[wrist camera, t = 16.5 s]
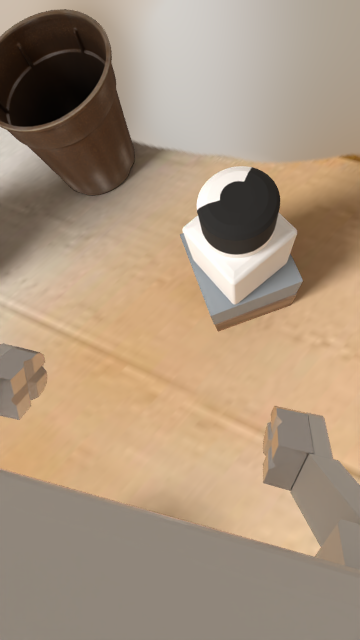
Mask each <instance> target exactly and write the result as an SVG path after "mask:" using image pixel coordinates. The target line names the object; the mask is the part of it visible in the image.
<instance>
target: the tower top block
mask: <svg viewBox="0 0 360 640" xmlns="http://www.w3.org/2000/svg"><path fill="white" fill-rule="evenodd" d="M180 236H181V239H182V242H183V244H184V247H185V250H186V252H187V255H188V258H189V260H190V263H191V265H192V268H193V271H194V273H195V276H196V279H197V281H198V284H199V287H200V289H201V292H202V294H203V297H204V300H205V302H206V305H207V308H208V310H209V313H210V316H211V318H212V320H213V322H214V325H215V324H217V323H220V322H223V321H225V320H228V319H231V318H233V317H236V316H239V315H241V314H244V313H246V312H249V311H252V310H254V309H257V308H260V307H262V306H265V305H268V304H270V303H273V302H276V301H278V300H281V299H284V298H286V297H289V296H292V295H294V294H296V292H297V291H298V289H299V287H300V285H301V284H302V282H303V280H302V277H301V275H300V273H299V271H298V269H297V267H296V265H295V262H294V260H293V258H292V256H291V254H290V255H289V258H288V261H287V263H286V264H285V265H284V266H283V267H281V268H280V269H279V270H278V271H277V272H275V273H274V274H273V275H272V276H271V277H269V278H268V279H267V280H266V281H264V282H263V283H262V284H261V285H260V286H258V287H257V288H256V289H255V290H253V291H252V292H251V293H250V294H249V295H247V296H246V297H245V298H244V299H243V300H241V301H240V302H239V303H238V304H232V303H231V301H230V300H229V299H228V298H227V297H226V296H225V295H224V294H223V293H222V291H221V290H220V289H219V288H218V287H217V286H216V285H215V284H214V282H213V281H212V280H211V279H210V278H209V277H208V276H207V275H206V273H205V272H204V271H203V270H202V269H201V268H200V267H199V266H198V265H197V263H196V262H195V261H194V260H193V258H192V255H191V252H190V250H189V247H188V244H187V241H186V239H185V236H184V233H182V234H180Z"/></svg>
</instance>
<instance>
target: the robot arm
mask: <svg viewBox="0 0 360 640" xmlns="http://www.w3.org/2000/svg"><path fill="white" fill-rule="evenodd" d="M44 363H45V358H44V354H42V353H40V352H36V351H32V350H28V349H24V348H20V347H17V346H16V347H15V346H11V345H7V344H4V343H3V344H0V416H4V417H8V418H13V419H17V420H20V419H21V418H22V416H23V415H24V414H25V413H26V412H27V410H28V409H29V408H30V407H31V400H33V399H35V398H37V397H39V396H40V394H41V393H42V392H43V390H44V388H45V386H46V383H47V372H46V370H45V369H44V368H43V367H42V365H43V364H44ZM263 453H264V454H265V456H266V458H265V460H264V463H263V483H265V484H268V485H272V486H275V487H279V488H282V489H286V490H289V491H291V494H292V496H293V498H294V500H295V501H296V503H297V505H298V507H299V509H300V510H301V512H302V514H303V516H304V518H305V519H306V521H307V523H308V525H309V527H310V528H311V530H312V532H313V534H314V536H315V537H316V539H317V541H318V543H319V545H320V546H321V548H320V550H319V551H318V553H317V554H316V556H315V557H313V556H310V555H306V554H302V553H299V552H295V551H292V550H288V549H285V548H281V547H278V546H274V545H270V544H267V543H263V542H260V541H256V540H253V539H249V538H246V537H242V536H238V535H235V534H231V533H228V532H224V531H221V530H217V529H214V528H210V527H206V526H203V525H199V524H196V523H192V522H189V521H185V520H181V519H178V518H174V517H171V516H167V515H164V514H160V513H156V512H153V511H149V510H146V509H142V508H139V507H135V506H131V505H128V504H124V503H121V502H117V501H114V500H110V499H106V498H103V497H99V496H96V495H92V494H89V493H85V492H82V491H78V490H75V489H71V488H68V487H64V486H60V485H57V484H53V483H50V482H46V481H43V480H39V479H36V478H32V477H29V476H25V475H21V474H18V473H14V472H11V471H7V470H4V469H0V640H360V485H359V484H358V483H357V482H356V480H355V479H354V478H353V477H352V476H351V475H350V473H349V472H348V471H347V470H346V469H345V468H344V467H343V465H342V464H341V463H340V462H339V461H338V460H334V459H333V455H332V451H331V446H330V442H329V437H328V433H327V428H326V423H325V419H324V417H323V416H320V415H315V414H311V413H305V412H301V411H296V410H291V409H287V408H282V407H278V406H274V408H273V410H272V413H271V422H270V423H268V424H267V427H266V430H265V435H264V441H263Z"/></svg>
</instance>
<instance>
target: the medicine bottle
mask: <svg viewBox="0 0 360 640" xmlns="http://www.w3.org/2000/svg"><path fill="white" fill-rule="evenodd" d="M279 208H280V195H279V191H278V188H277V186H276V184H275V182H274V181H273V180H272V179H271V178H270V177H269V176H268V175H267V174H266V173H264V172H262V171H260V170H258V169H255V168H252V167H247V166H236V167H230V168H227V169H224V170H222V171H220V172H218V173H216V174H215V175H213V176H212V177H211V178H210V179H209V180H208V181H207V182H206V183H205V184H204V186H203V187H202V189H201V191H200V193H199V195H198V199H197V213H198V215H197V216H196V217H195V218H194V219H193V220H191V221H190V222H189V223H188V224H187V225H185V226H184V227H183V233H184V236H185V239H186V241H187V244H188V247H189V250H190V252H191V255H192V258H193V260H194V261H195V262H196V263H197V265H198V266H199V267H200V268H201V269H202V270H203V271H204V272H205V273H206V275H207V276H208V277H209V278H210V279H211V280H212V281H213V282H214V284H215V285H216V286H217V287H218V288H219V289H220V290H221V291H222V293H223V294H224V295H225V296H226V297H227V298H228V299H229V300H230V301H231V303H232V304H238V303H239V302H240V301H241V300H243V299H244V298H245V297H246V296H247V295H249V294H250V293H251V292H252V291H253V290H255V289H256V288H257V287H258V286H260V285H261V284H262V283H263V282H264V281H266V280H267V279H268V278H269V277H271V276H272V275H273V274H274V273H275V272H277V271H278V270H279V269H280V268H281V267H283V266H284V265H285V264H286V263H287V261H288V258H289V255H290V252H291V250H292V247H293V244H294V241H295V238H296V235H297V230H296V228H295V227H293V226H292V225H291V224H290V223H289V222H288V221H287V220H286V219H285V218H284V217H283V216H282V215H281V214H280V213H279Z"/></svg>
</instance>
